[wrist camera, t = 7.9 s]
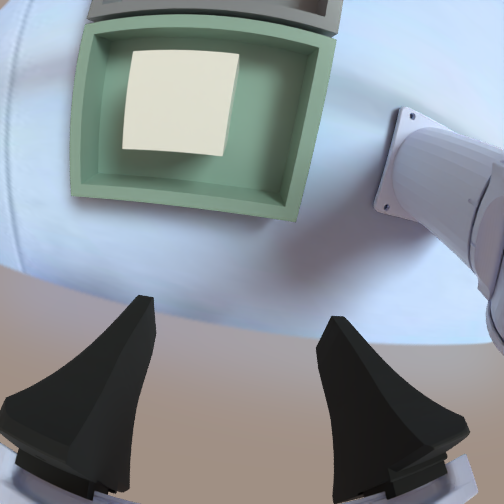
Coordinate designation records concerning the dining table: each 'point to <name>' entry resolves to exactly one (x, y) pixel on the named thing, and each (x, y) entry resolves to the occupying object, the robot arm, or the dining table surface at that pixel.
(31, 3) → the dining table surface
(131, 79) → the stone block
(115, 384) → the robot arm
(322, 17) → the tray
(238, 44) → the tray
